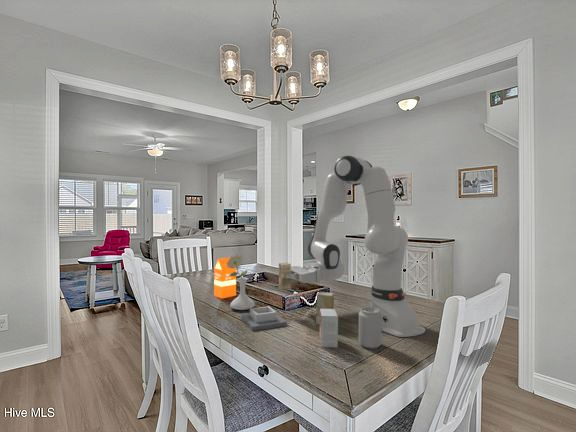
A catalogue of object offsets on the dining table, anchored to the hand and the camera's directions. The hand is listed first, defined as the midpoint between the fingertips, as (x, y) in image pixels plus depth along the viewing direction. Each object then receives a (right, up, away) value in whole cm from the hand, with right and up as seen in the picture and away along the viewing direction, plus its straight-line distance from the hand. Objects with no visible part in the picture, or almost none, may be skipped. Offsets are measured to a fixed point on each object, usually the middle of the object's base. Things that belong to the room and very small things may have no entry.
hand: (282, 275), depth 137 cm
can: (+30, -18, -32) cm, 47 cm away
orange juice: (-31, -17, +29) cm, 46 cm away
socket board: (-8, -17, -10) cm, 21 cm away
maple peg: (+1, -6, 0) cm, 6 cm away
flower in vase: (-19, -17, +7) cm, 27 cm away
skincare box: (+17, -17, -12) cm, 27 cm away
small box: (+16, -18, -30) cm, 38 cm away
